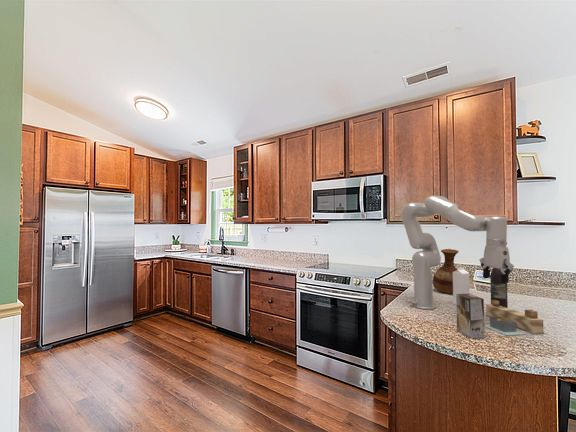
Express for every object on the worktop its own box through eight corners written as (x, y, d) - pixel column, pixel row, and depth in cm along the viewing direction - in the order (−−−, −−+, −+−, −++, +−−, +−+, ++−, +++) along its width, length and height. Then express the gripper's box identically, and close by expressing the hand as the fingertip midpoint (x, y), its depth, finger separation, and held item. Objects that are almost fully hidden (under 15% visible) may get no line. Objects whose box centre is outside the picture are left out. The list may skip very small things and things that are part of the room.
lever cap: (501, 325, 128) (501, 316, 129) (516, 331, 121) (516, 321, 122) (490, 326, 128) (490, 316, 128) (504, 332, 121) (503, 321, 121)
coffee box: (485, 338, 116) (485, 298, 116) (471, 338, 115) (470, 299, 116) (469, 329, 125) (468, 293, 125) (455, 330, 124) (455, 293, 125)
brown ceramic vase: (434, 293, 190) (433, 249, 191) (431, 287, 208) (430, 247, 209) (468, 296, 182) (467, 250, 183) (462, 290, 201) (461, 248, 202)
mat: (506, 335, 118) (506, 334, 118) (483, 325, 130) (483, 324, 130) (525, 334, 119) (525, 333, 119) (500, 324, 131) (500, 323, 131)
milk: (469, 305, 162) (469, 267, 163) (462, 307, 160) (462, 268, 160) (459, 303, 168) (459, 266, 168) (452, 304, 165) (452, 266, 166)
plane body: (544, 333, 120) (543, 312, 121) (533, 334, 120) (532, 313, 120) (495, 315, 144) (495, 298, 144) (486, 316, 143) (485, 298, 144)
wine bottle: (487, 312, 150) (486, 256, 151) (496, 310, 152) (495, 255, 153) (502, 316, 143) (501, 257, 144) (510, 314, 146) (509, 256, 147)
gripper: (521, 245, 121) (520, 284, 121) (487, 241, 138) (487, 276, 138) (505, 245, 120) (504, 285, 120) (474, 241, 137) (473, 276, 137)
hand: (495, 280), depth 129 cm, fingers open, 9 cm apart
